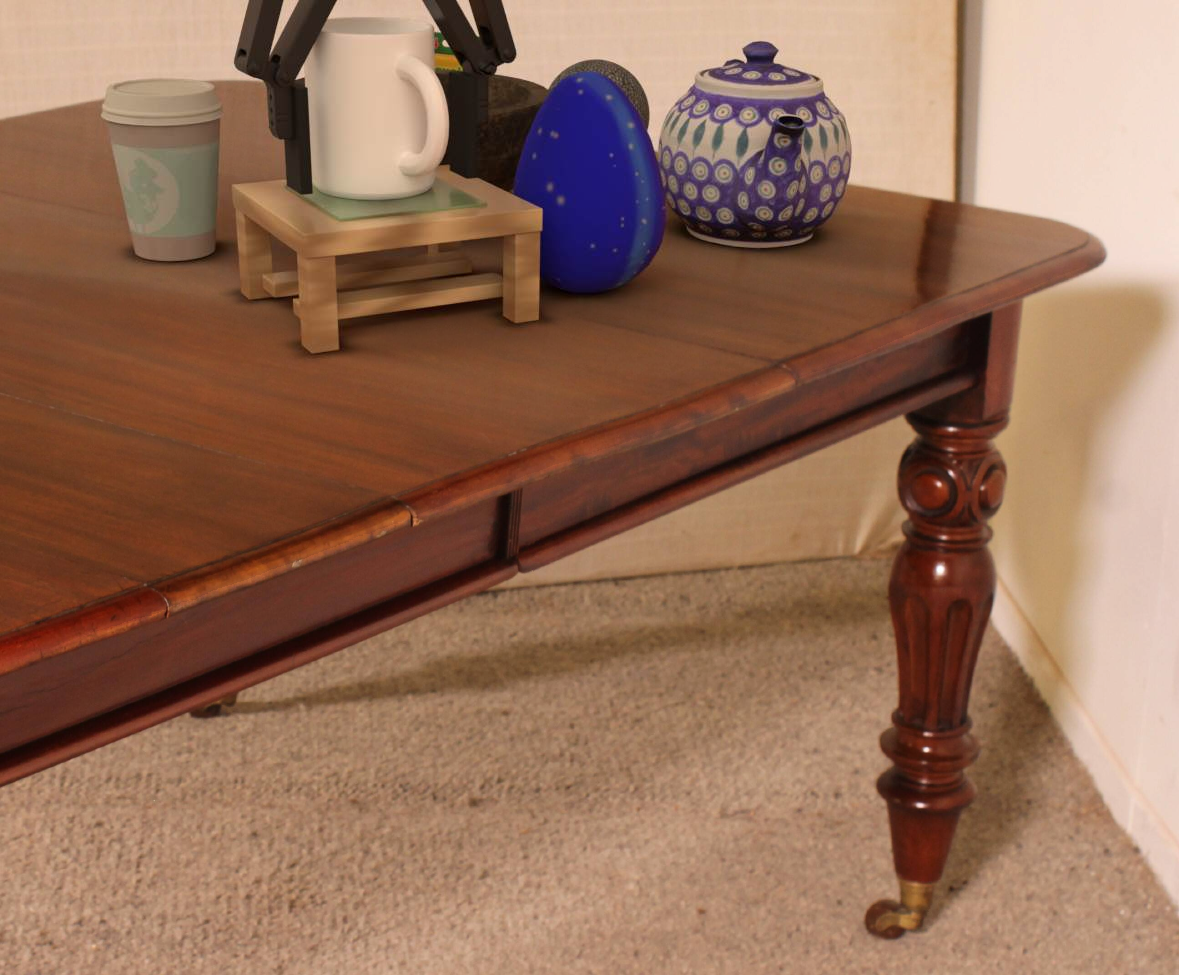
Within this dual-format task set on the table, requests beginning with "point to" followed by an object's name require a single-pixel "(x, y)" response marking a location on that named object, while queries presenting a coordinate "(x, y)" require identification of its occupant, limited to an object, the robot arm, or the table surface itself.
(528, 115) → the bowl
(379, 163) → the mug
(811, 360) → the table surface
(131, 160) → the coffee cup
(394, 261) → the wooden side table
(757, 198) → the teapot
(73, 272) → the table surface
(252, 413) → the table surface
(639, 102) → the decorative ball
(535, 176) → the ornament
